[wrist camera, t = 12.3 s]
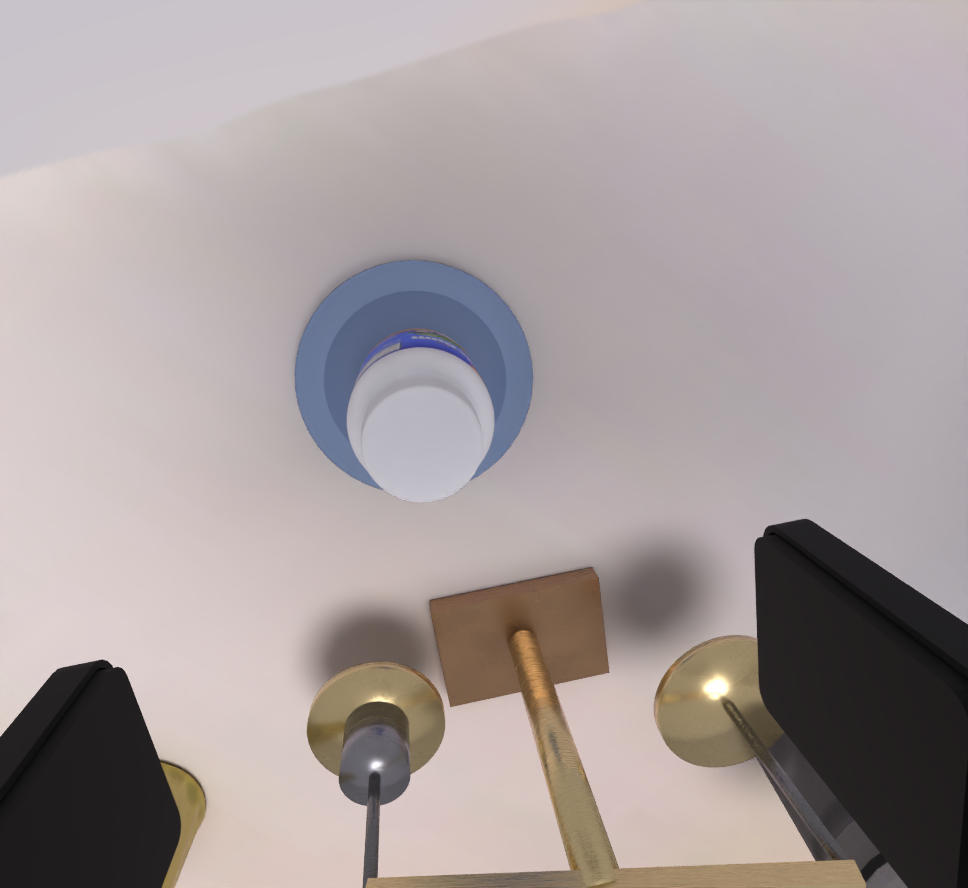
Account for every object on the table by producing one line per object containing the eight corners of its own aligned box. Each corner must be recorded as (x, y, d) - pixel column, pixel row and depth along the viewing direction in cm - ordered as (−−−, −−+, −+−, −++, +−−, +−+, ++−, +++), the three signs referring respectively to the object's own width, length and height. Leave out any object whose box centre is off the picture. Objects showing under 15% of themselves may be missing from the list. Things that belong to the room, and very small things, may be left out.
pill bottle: (499, 379, 30) (543, 436, 21) (423, 463, 31) (434, 554, 22) (410, 300, 29) (416, 325, 20) (333, 390, 30) (304, 455, 20)
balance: (705, 541, 36) (971, 793, 19) (710, 639, 38) (956, 946, 21) (307, 622, 34) (221, 975, 18) (334, 720, 36) (280, 1122, 20)
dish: (511, 242, 30) (516, 241, 29) (541, 463, 33) (547, 472, 32) (272, 281, 29) (267, 282, 28) (328, 504, 33) (325, 514, 31)
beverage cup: (702, 710, 39) (986, 1141, 20) (806, 647, 39) (1195, 1026, 20) (750, 786, 42) (1047, 1238, 23) (849, 727, 41) (1236, 1137, 22)
